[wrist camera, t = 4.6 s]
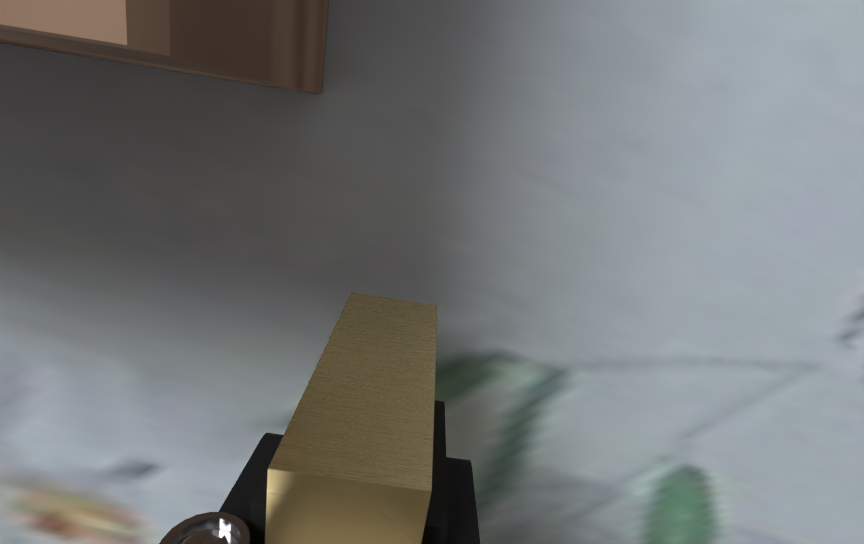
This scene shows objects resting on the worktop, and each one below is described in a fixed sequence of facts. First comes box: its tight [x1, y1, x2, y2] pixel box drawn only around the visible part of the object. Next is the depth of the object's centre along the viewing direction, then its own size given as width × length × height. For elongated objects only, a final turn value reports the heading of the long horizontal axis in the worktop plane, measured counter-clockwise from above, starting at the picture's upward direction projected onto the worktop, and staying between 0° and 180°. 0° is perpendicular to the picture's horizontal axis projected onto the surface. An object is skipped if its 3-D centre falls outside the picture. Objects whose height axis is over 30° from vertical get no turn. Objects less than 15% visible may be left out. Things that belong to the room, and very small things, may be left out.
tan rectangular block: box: [265, 293, 437, 544], centre depth 10 cm, size 2×6×6 cm, turn 171°
